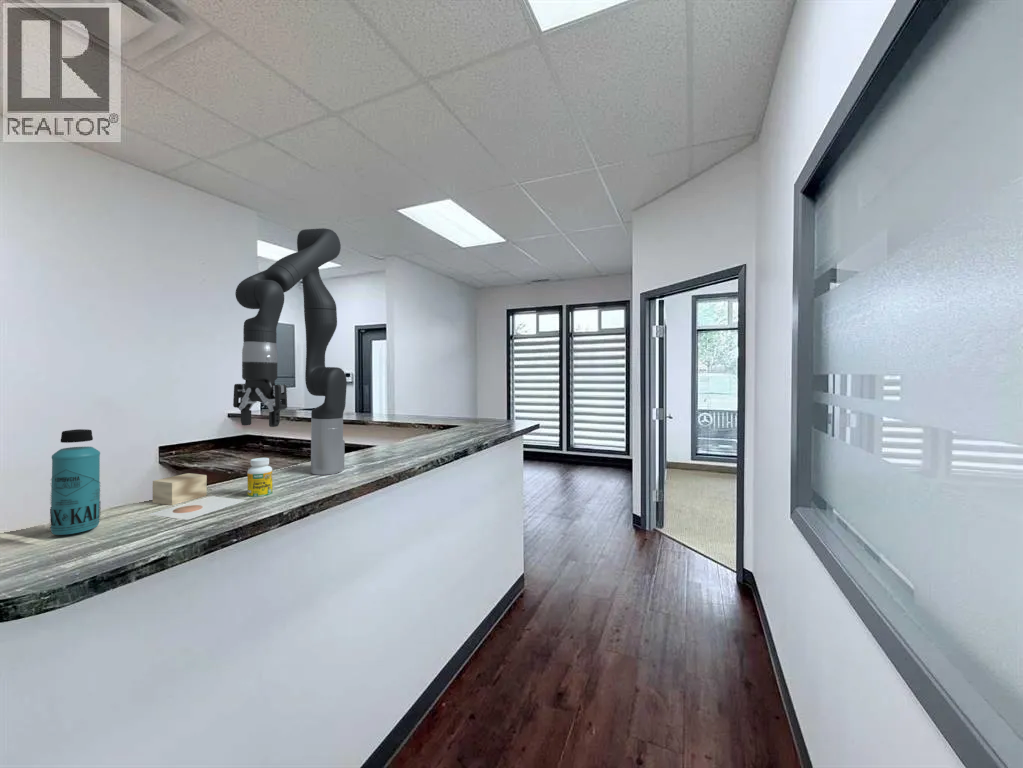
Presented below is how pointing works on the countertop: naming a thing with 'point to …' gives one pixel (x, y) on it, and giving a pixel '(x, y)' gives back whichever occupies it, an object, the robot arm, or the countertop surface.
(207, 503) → the board
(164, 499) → the block
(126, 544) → the countertop surface
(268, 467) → the supplement bottle
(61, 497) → the beverage bottle
